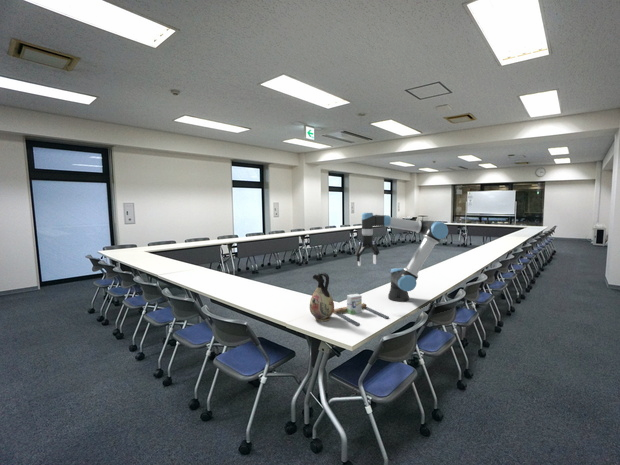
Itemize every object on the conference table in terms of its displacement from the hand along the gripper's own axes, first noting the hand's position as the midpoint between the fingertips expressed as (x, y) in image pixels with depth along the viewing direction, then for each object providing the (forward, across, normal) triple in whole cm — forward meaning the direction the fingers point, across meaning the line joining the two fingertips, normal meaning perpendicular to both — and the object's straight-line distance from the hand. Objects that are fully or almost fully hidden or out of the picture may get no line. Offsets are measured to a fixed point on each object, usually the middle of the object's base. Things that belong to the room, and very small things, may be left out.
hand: (367, 265), depth 209 cm
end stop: (+29, +17, +4) cm, 34 cm away
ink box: (+29, +17, +8) cm, 34 cm away
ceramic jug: (+29, +41, +8) cm, 51 cm away
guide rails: (+29, +17, +16) cm, 37 cm away
